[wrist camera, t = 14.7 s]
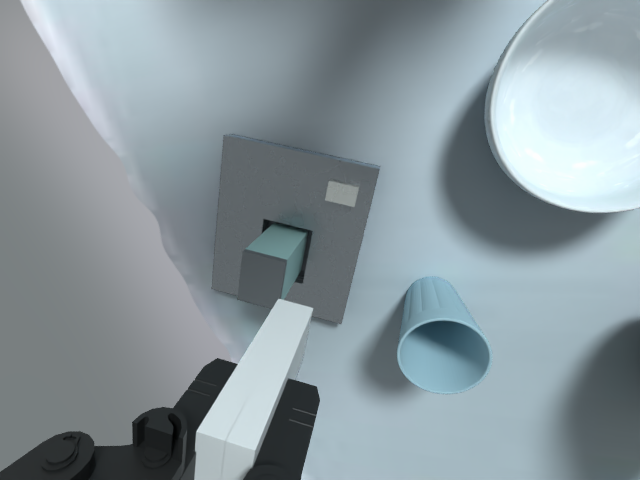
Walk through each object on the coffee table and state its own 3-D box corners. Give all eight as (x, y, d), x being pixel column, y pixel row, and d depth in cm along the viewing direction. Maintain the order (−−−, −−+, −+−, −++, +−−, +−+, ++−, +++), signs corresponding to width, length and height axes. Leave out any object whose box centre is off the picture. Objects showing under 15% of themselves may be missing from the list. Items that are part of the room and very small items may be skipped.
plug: (274, 222, 40) (242, 251, 31) (308, 230, 39) (285, 262, 31) (268, 262, 41) (237, 299, 33) (301, 270, 41) (277, 310, 33)
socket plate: (232, 134, 37) (220, 135, 35) (380, 166, 36) (379, 170, 33) (219, 281, 44) (208, 291, 41) (343, 314, 42) (340, 328, 40)
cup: (408, 335, 41) (413, 402, 32) (385, 279, 40) (384, 331, 30) (475, 319, 39) (502, 385, 29) (454, 258, 37) (476, 308, 28)
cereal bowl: (738, 0, 27) (851, -38, 20) (637, 209, 33) (698, 233, 26) (504, -23, 29) (537, -63, 22) (449, 178, 35) (463, 193, 28)
